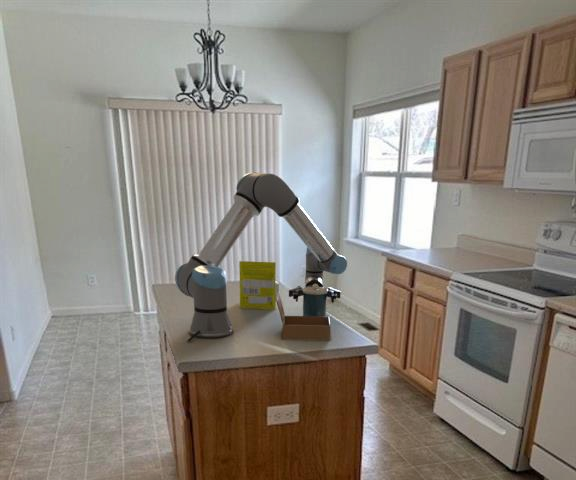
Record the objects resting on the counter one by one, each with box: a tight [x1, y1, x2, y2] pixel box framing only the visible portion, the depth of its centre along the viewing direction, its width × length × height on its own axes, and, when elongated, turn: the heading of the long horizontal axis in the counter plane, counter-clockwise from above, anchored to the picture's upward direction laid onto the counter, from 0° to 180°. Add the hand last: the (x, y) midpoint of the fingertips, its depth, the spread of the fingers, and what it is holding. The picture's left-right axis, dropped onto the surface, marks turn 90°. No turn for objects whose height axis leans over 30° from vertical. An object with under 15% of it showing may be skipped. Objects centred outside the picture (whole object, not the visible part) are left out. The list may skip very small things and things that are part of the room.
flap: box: [275, 292, 286, 324], centre depth 192 cm, size 8×13×1 cm
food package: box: [238, 260, 277, 310], centre depth 227 cm, size 15×1×20 cm, turn 84°
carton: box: [282, 315, 331, 341], centre depth 194 cm, size 17×13×5 cm
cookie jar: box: [302, 284, 328, 317], centre depth 205 cm, size 10×10×16 cm
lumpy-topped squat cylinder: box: [275, 280, 280, 301], centre depth 248 cm, size 10×13×9 cm
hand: (314, 298), depth 201 cm, fingers open, 13 cm apart
